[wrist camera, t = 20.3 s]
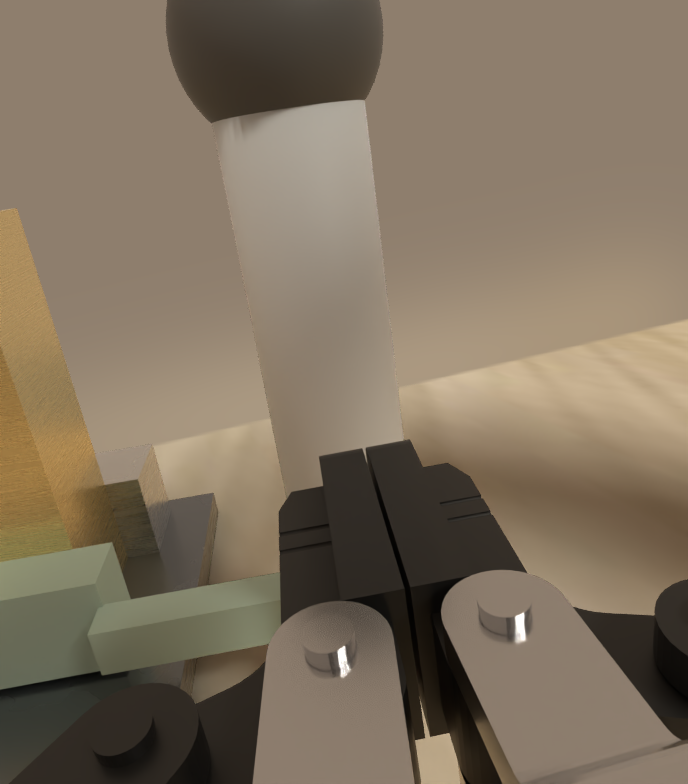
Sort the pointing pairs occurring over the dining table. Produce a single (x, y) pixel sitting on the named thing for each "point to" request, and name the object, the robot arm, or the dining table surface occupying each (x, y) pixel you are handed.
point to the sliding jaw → (252, 319)
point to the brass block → (42, 425)
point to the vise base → (143, 578)
